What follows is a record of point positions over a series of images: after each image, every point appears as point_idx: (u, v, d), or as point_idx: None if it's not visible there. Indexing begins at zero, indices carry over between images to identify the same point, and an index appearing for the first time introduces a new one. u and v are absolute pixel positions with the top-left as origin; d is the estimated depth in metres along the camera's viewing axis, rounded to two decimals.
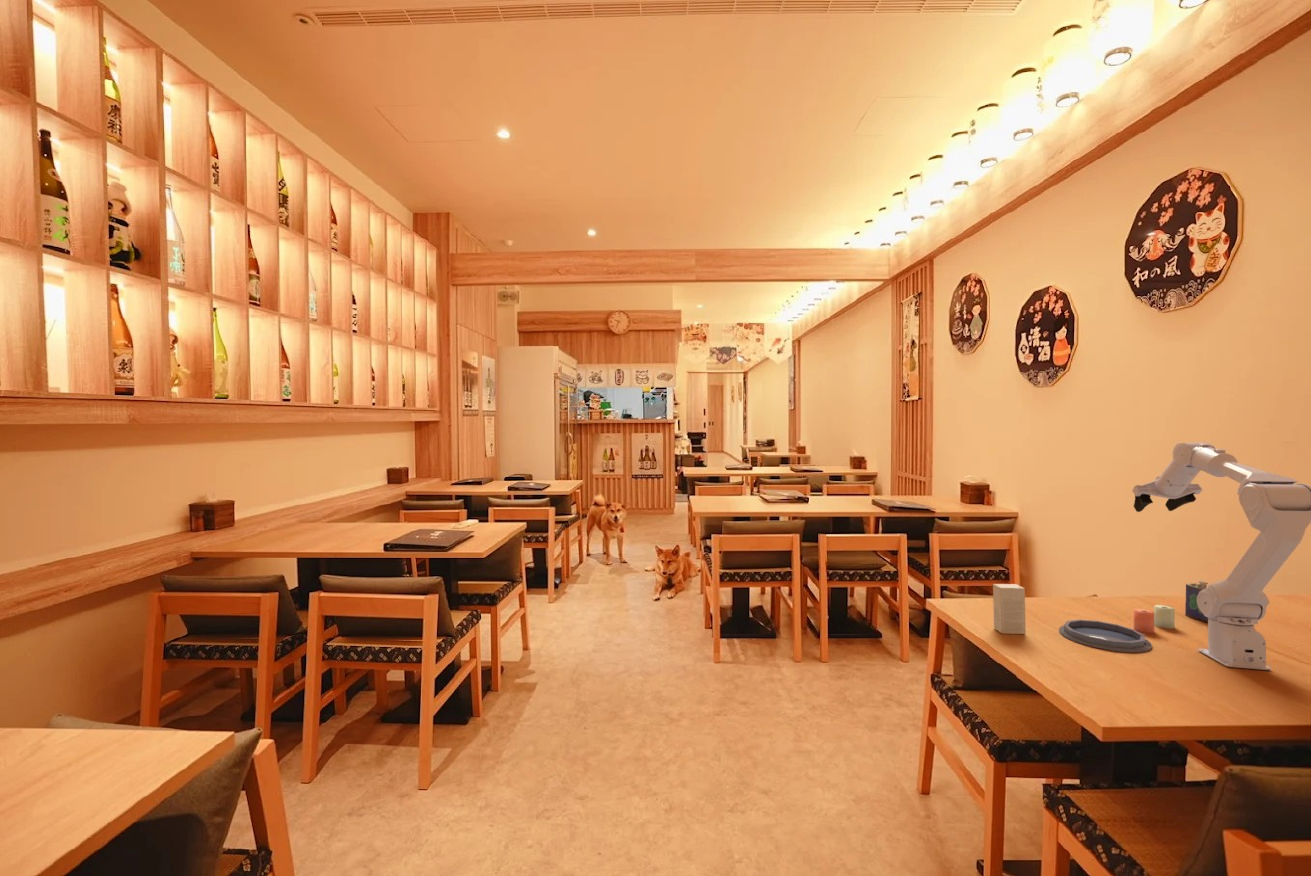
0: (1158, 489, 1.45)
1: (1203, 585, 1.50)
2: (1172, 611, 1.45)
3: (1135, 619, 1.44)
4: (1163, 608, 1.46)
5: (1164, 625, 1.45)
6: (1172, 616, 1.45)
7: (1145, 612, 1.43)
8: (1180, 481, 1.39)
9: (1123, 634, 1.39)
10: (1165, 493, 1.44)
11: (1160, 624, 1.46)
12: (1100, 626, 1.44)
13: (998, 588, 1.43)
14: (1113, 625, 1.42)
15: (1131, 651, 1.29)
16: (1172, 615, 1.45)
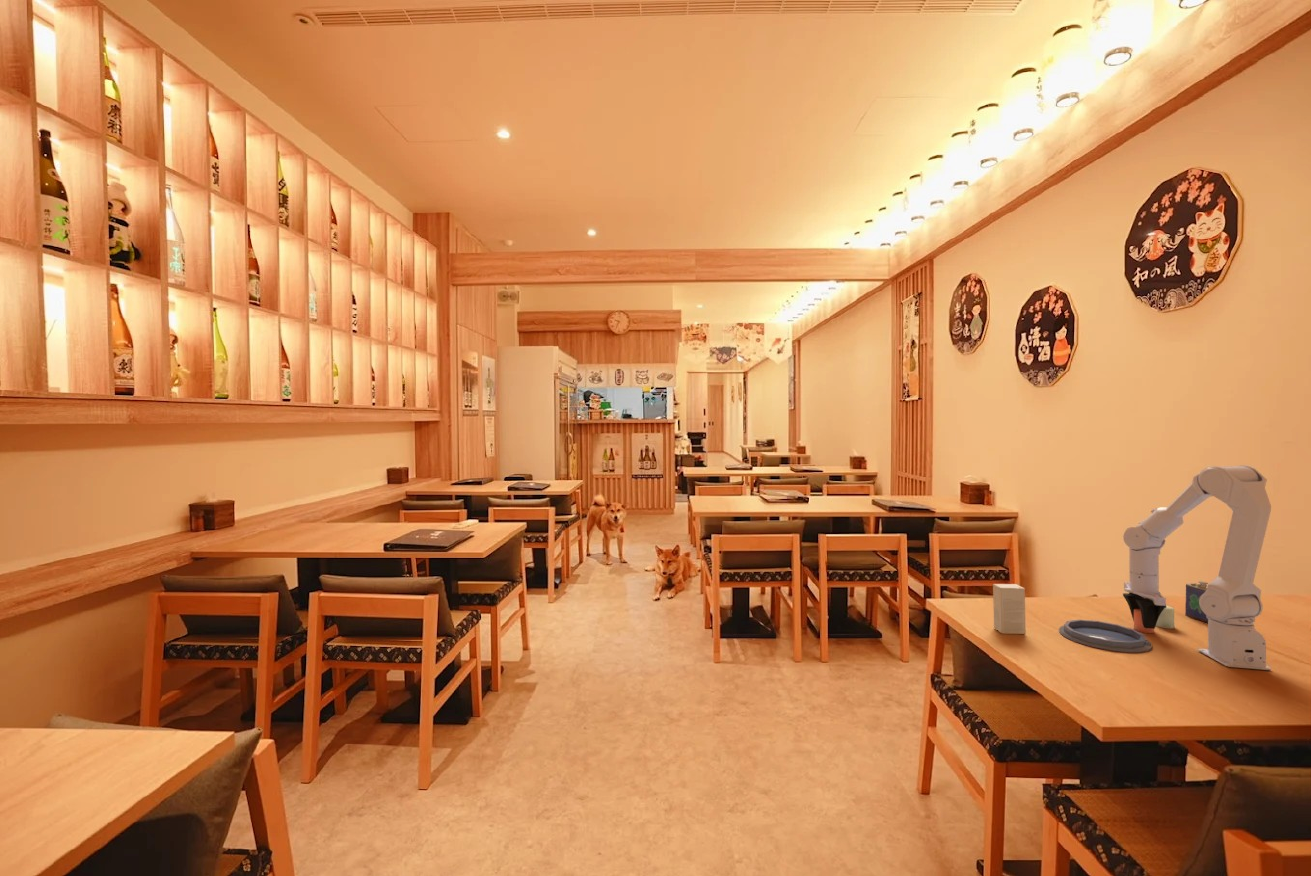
0: (1153, 590, 1.41)
1: (1203, 585, 1.50)
2: (1172, 611, 1.45)
3: (1135, 619, 1.44)
4: None
5: (1165, 625, 1.45)
6: (1172, 616, 1.45)
7: None
8: (1151, 569, 1.41)
9: (1123, 634, 1.39)
10: (1158, 590, 1.41)
11: (1160, 624, 1.46)
12: (1100, 626, 1.44)
13: (998, 588, 1.43)
14: (1113, 625, 1.42)
15: (1131, 651, 1.29)
16: (1172, 615, 1.45)
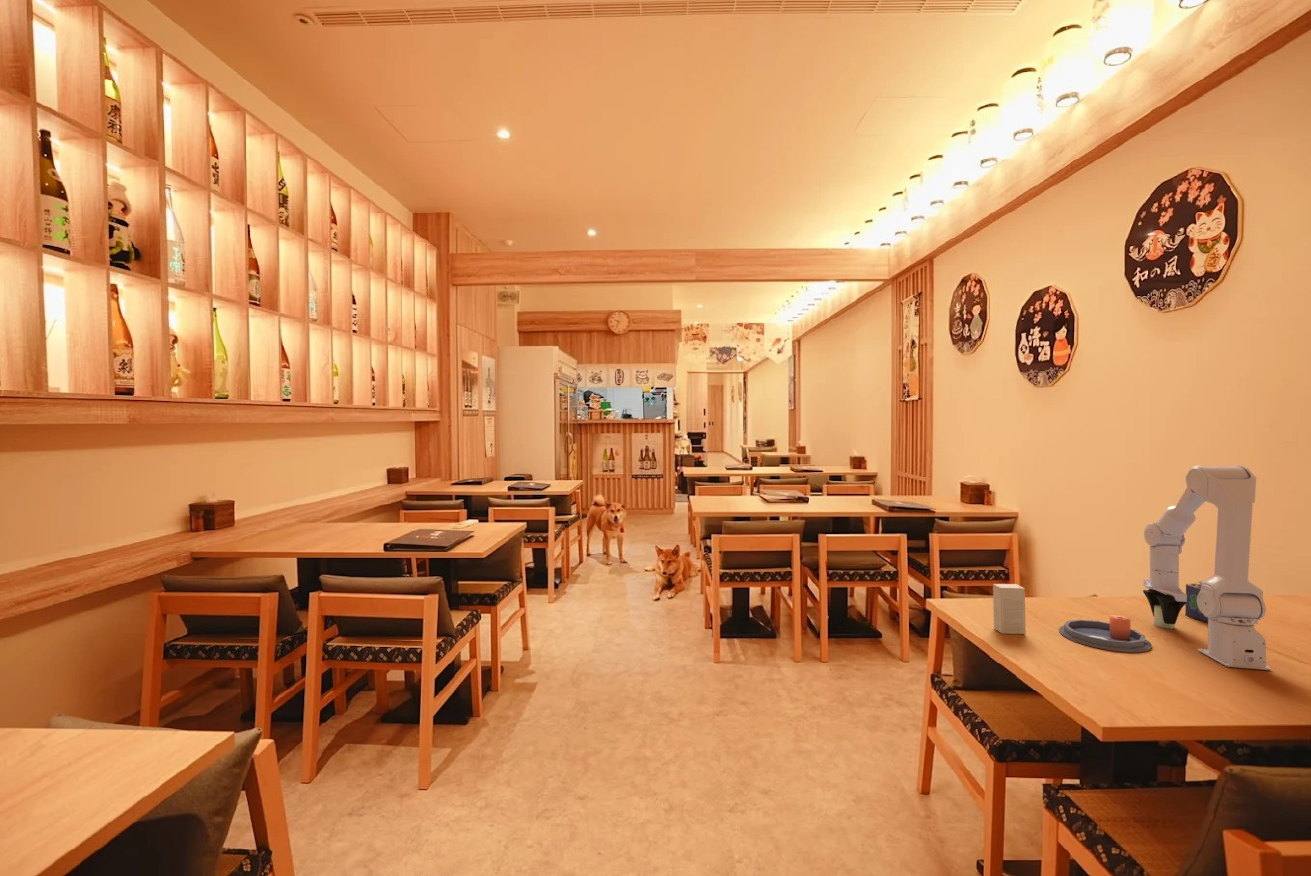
0: (1174, 587, 1.44)
1: None
2: None
3: (1110, 626, 1.38)
4: None
5: (1167, 626, 1.45)
6: None
7: (1121, 618, 1.36)
8: (1166, 565, 1.44)
9: None
10: (1178, 586, 1.44)
11: (1162, 624, 1.45)
12: (1100, 626, 1.44)
13: (998, 588, 1.43)
14: None
15: (1131, 651, 1.29)
16: None
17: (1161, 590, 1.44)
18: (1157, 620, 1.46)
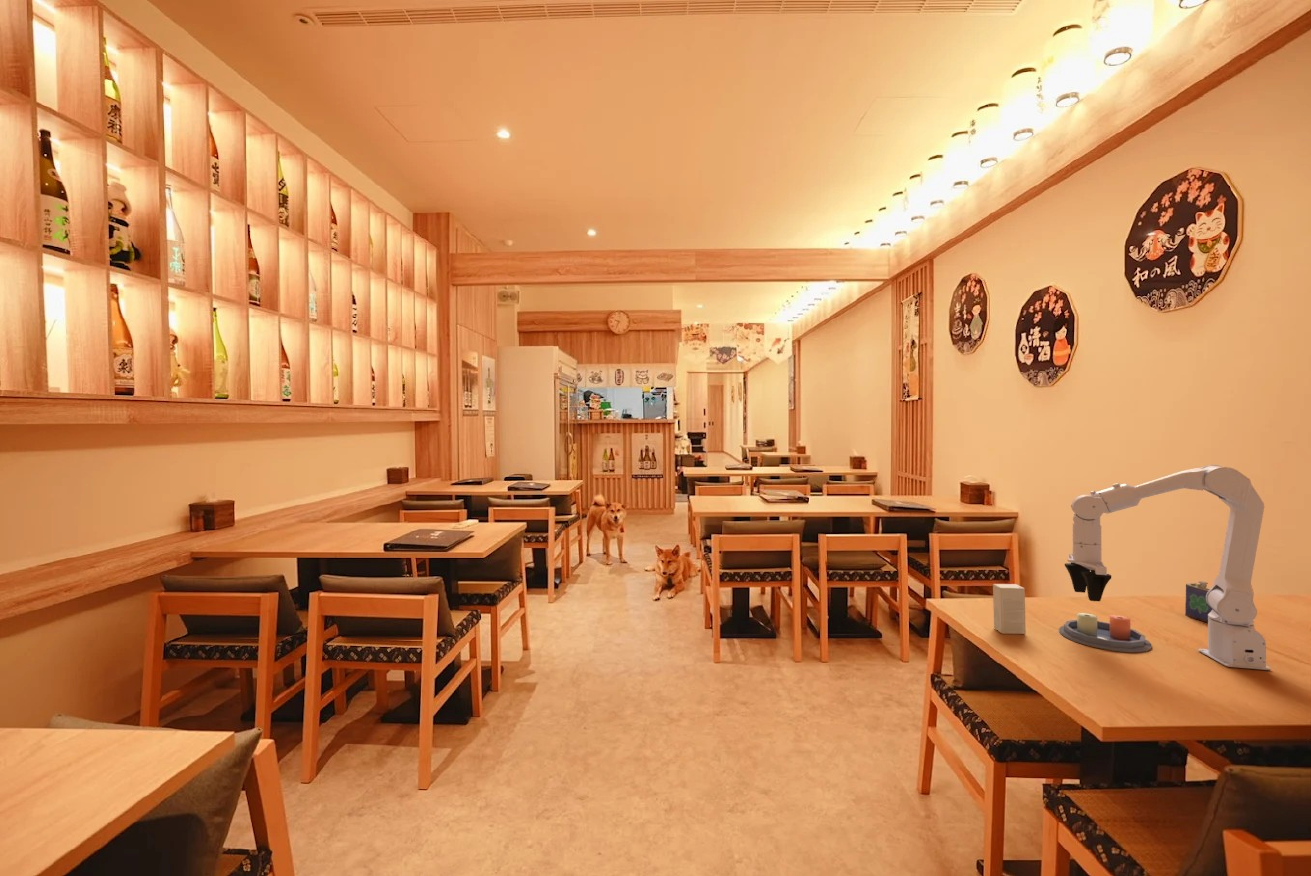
0: (1095, 560, 1.36)
1: (1203, 585, 1.50)
2: (1096, 619, 1.37)
3: (1110, 626, 1.38)
4: (1087, 617, 1.38)
5: (1089, 635, 1.37)
6: (1096, 624, 1.37)
7: (1121, 618, 1.36)
8: (1100, 537, 1.37)
9: None
10: (1100, 560, 1.37)
11: (1085, 634, 1.38)
12: (1100, 626, 1.44)
13: (998, 588, 1.43)
14: None
15: (1131, 651, 1.29)
16: (1096, 623, 1.37)
17: (1082, 564, 1.37)
18: (1080, 629, 1.39)
